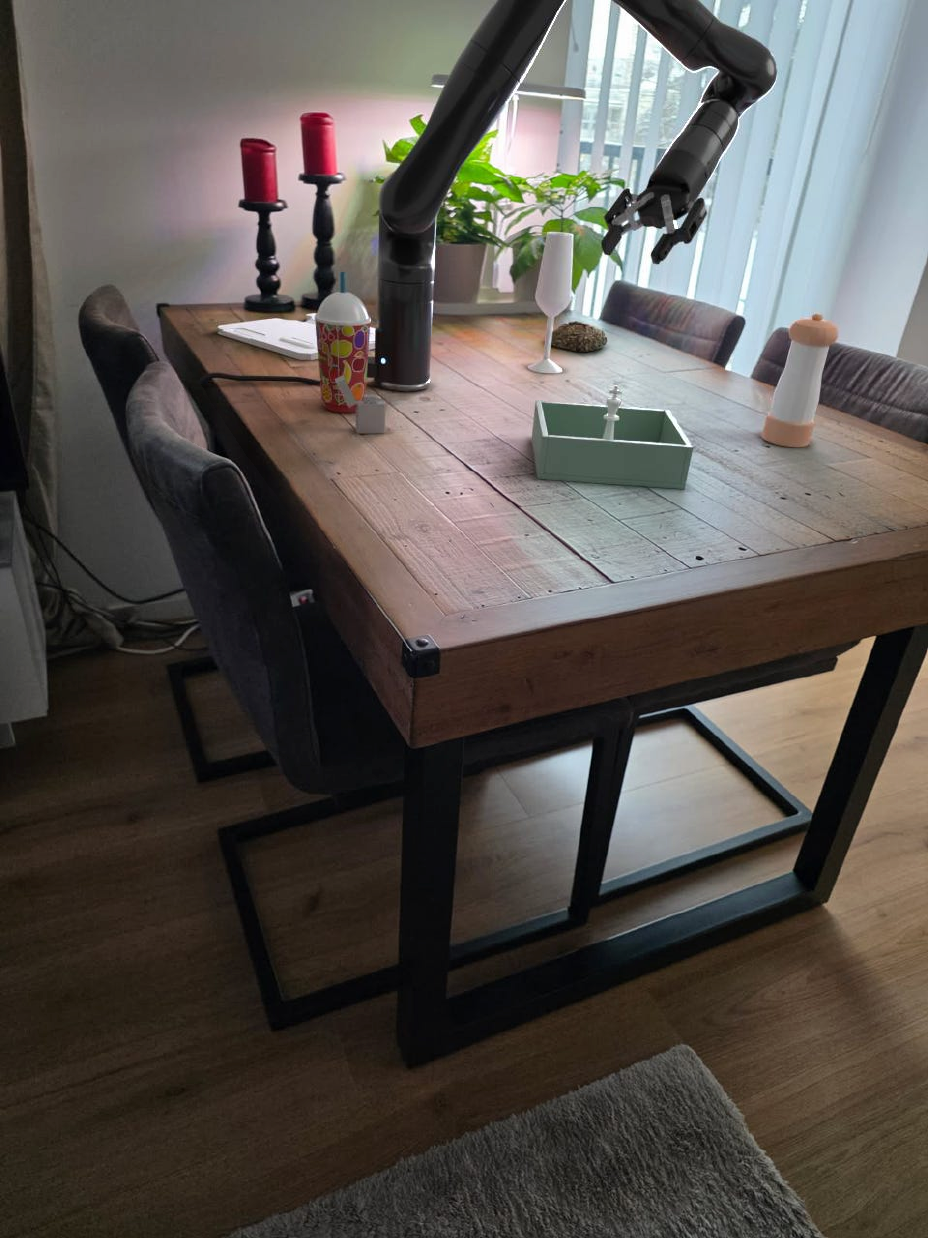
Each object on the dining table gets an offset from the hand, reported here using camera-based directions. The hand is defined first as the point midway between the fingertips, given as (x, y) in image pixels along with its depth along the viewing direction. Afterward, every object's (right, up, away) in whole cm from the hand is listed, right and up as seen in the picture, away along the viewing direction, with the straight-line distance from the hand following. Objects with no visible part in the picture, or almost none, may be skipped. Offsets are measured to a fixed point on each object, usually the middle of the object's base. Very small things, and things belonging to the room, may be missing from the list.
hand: (629, 255), depth 124 cm
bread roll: (0, +6, +61) cm, 62 cm away
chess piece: (-4, -30, -4) cm, 31 cm away
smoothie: (-43, -20, +10) cm, 48 cm away
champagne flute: (-8, -5, +41) cm, 42 cm away
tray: (-55, +5, +51) cm, 75 cm away
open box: (-4, -31, -4) cm, 31 cm away
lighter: (-39, -26, +1) cm, 47 cm away
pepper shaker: (+27, -25, +12) cm, 38 cm away
